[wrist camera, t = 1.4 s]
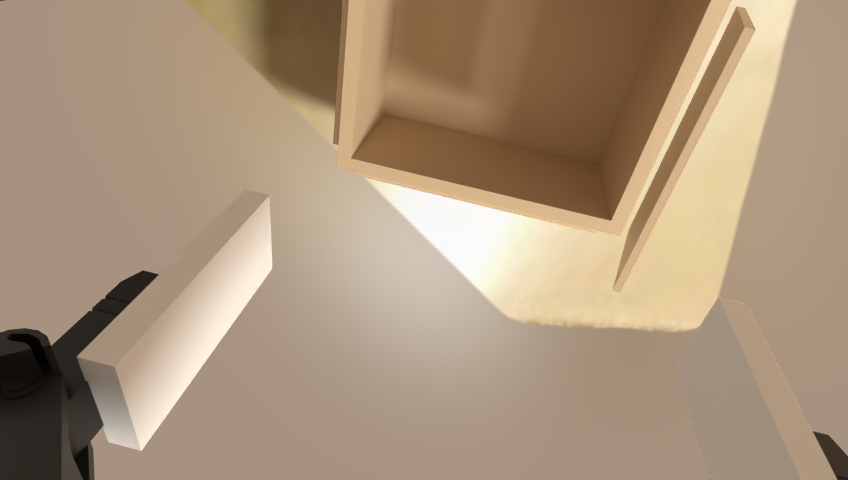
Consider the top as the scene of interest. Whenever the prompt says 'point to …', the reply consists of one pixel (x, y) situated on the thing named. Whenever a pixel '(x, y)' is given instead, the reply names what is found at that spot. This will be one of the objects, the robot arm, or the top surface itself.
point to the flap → (686, 137)
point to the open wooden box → (518, 98)
